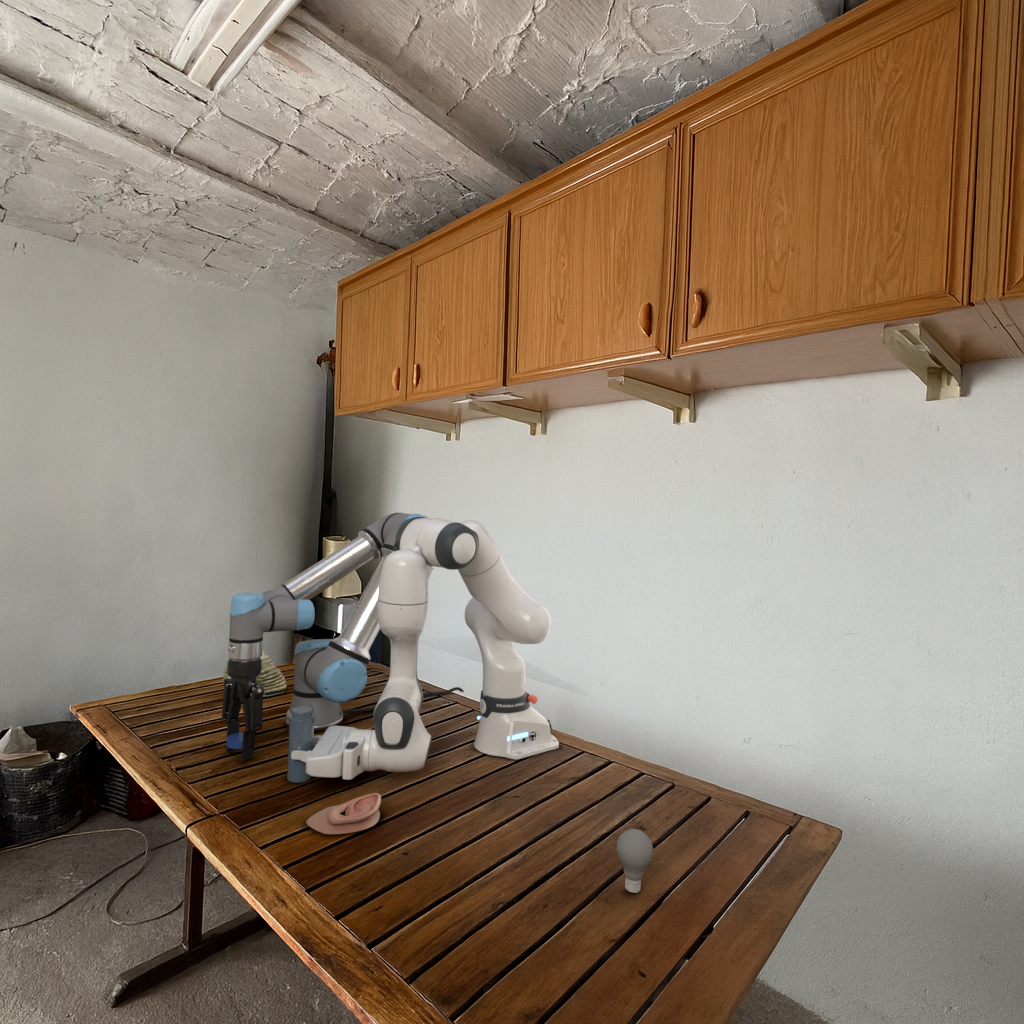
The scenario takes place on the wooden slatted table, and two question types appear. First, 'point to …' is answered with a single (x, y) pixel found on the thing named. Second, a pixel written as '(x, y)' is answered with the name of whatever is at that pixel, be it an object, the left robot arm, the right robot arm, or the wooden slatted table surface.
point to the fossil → (267, 677)
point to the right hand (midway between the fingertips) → (296, 748)
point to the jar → (300, 741)
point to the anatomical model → (347, 816)
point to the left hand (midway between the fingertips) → (239, 754)
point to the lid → (235, 741)
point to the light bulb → (634, 857)
